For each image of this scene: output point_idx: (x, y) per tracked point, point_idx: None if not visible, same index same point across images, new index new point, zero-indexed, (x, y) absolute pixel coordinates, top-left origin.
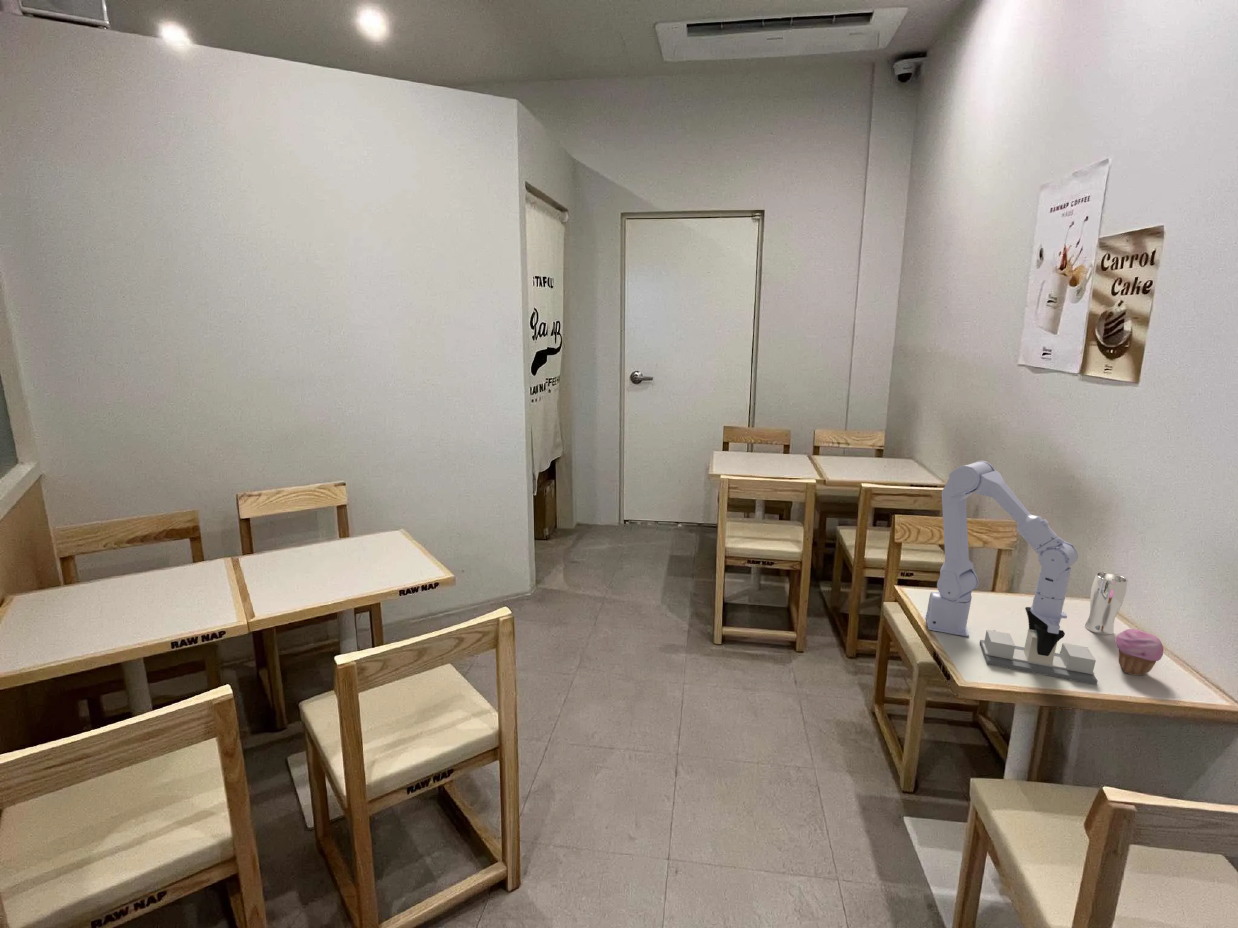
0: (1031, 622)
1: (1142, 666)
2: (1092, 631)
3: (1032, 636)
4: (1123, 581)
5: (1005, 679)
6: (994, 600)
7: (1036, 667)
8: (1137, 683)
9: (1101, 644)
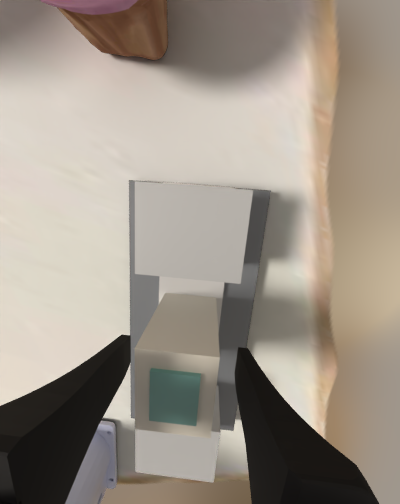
0: (91, 436)
1: None
2: None
3: (204, 437)
4: None
5: (293, 402)
6: None
7: (236, 336)
8: (223, 41)
9: None
